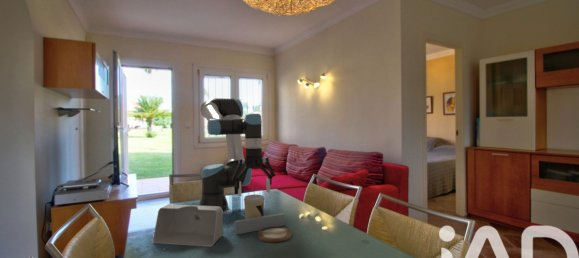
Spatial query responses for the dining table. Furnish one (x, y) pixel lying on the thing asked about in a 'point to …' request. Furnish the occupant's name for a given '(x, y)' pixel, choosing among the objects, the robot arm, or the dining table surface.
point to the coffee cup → (254, 206)
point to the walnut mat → (274, 234)
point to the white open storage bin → (189, 225)
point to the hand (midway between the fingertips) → (254, 193)
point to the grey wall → (259, 223)
